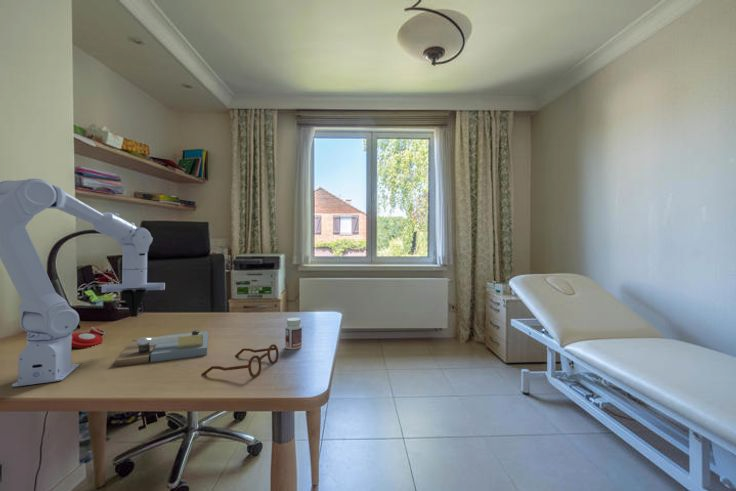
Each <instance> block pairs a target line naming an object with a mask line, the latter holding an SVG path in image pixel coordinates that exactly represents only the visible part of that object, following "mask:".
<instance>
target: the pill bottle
mask: <svg viewBox="0 0 736 491" xmlns="http://www.w3.org/2000/svg"><path fill="white" fill-rule="evenodd" d="M301 321H302V320H301V318H299V317H289V318H287V319H286V326H285V330H284V331H285V334H284V335H285V336H284V337H285V341H284V343H285V344H284V345H285V349H288V350H294V351H295V350H298V349H300V348H302V343H303V342H302V341H303V340H302V339H303V338H302V334H303V333H302V332H303V331H302V330H303V327H302V325H301Z"/></svg>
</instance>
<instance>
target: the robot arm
mask: <svg viewBox="0 0 736 491" xmlns="http://www.w3.org/2000/svg"><path fill="white" fill-rule="evenodd" d="M46 209H52V210H53V209H54V210H55V209H56V210H59V211H61V212H63V213H66V214H69V215H71V216H73V217H76V218H77V219H80V220H83V221H85V222H88V223H90V224H92V226H93V229H94V231H95V232H98V233H100V234H102V235H104V236H107V237H109V238H112V239H113V240H115V241H117V243H118V244H119V246H120V247H121V246H122V263H121V264H122V270H121V274H122V276H121V283H115V284H102V285H101V293H116V292H120V293H121V292H122V293H121V294H120V295H121V297H122V299H123V300H124V301H125V304H126V306H127V308H128V311H129V315H130V318H137V317H138V316H139V312H140V308H141V304H142V302H143V300H144V299H145V297H146V295H147V292H148V291H165V289H166V283H165V282H148V253H149V249H150V245H151V244H152V243H153V239H154V237H152V234H151V232H150V231H149V230H148V229H147V228H145V227H143V226H142V227H139V226H136V225H135V223H134V222H132V221H127V220H126V219H123V218H121V217H120V214H119V213H117V212H110V211H106V212H100V211H99V210H97V209H95V208H93V207H91V206H90V205H88V204H86V203H84V202H83V201H81V200H79V199H78V198H76V197H74V196H72V195H70V194H69V193H67V192H65V190H63V188H61V187H59V186H57V185H54V184H53V185H52V184H51V183H49V182H47V181H46V180H44V179H41V178H36V177H35V178H27V179H22V180H21V179H20V180H3V181H0V261H1V263H2V264H3V267H4V268H5V270H6V272H7V275H8V276H9V278H10V280H11V282H12V284H13V286H14V288H15V290H16V292H17V294H18V295H19V298H20V300H21V302H20V304H19V305H18V308H17V309H18V311H19V313H20V318H19V325H20V328H21V329H22V330H23V331H25V332H26V345H25V347H24V348H23V350H21V352H20V354H19V355H18V358H17V360H18V364H17V365H18V369H17V372H18V373H17V374H18V376H17V377H18V378H17V381H16V382H13V383H11V388H16V387H22V386H30V385H31V386H32V385H36V384H37V385H38V384H44V383H51V382H52V383H53V382H60V381H63V380H65V379H66V377H68V376H69V375H70V374H71V373H72V372H73V371H74V370H76V369H77V368H78V367H79V366H80V365H79V363H75V364H72V346H71V344H72V334H73V331H75V330H76V329H77V327H78V325H79V322H80V315H79V313H78V312H77V311H76V309H73V308H72V307H70V305H69V303H68V301H67V300H66V299H64V298H63V297H62V296H61V295H59V293H57V292H56V289H55V288H54V285H53V283H52V281H51V280H50V277H49V275H48V273H47V271H46V268H45V266H44V265H43V262H42V260H41V258H40V256H39V253H38V251H37V249H36V247H35V245H34V243H33V241H32V239H31V238H32V237H31V236H30V234H29V232H28V230H27V227H26V226H27V225H28V224H29V223H30V221H31V220H32V219H33V218H34V217H35V216H36V215H38V214H39V213H42V212H44V211H45V210H46Z"/></svg>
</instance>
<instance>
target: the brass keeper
mask: <svg viewBox="0 0 736 491" xmlns="http://www.w3.org/2000/svg"><path fill="white" fill-rule="evenodd" d="M196 346H203V334H198V335H188V336H179V337H178V348H187V347H196Z"/></svg>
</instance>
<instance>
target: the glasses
mask: <svg viewBox="0 0 736 491" xmlns="http://www.w3.org/2000/svg"><path fill="white" fill-rule="evenodd" d="M244 351H245V352H251V353H255V354H256V353H262V352H266V353H263V354H262V355H260V356H259V355H253V356H251V357H250V359H249V360H248V364H242V365H235V366H227V367H226V366H225V367H224V366H220V365H212V366H210V367H209V368H208V369H206V370H205V371H204V372H202V373H201V376H205V375H207V374H208V373H209V372H211V371H212V370H220V371H224V372H225V371H233V370H242V369H248V374H249V376H250V377H251V378H257V377H259V375H260V374H261V373H262V360H263V359H265V357H267V359H268V362H269V363H270V364H271V365H272V364H273V365H274V364H276V363H277V362H278V359H279V349H278V346H277V345H276V344H274V343H273V344H270V345H269V346H268V348H261V349H253V348H242V349H240V351H238V352H237V353H236V354H235V355H234V357H235V358H236V357H239V356H240V355H241V354H242V353H243V352H244ZM271 351H275V358H274V360H273V359H272V358H271ZM254 359H256V360H257V361H258V362H257V363H258V370H257V372H256V373H255V374H254V373H253V370H252V362H253V360H254Z"/></svg>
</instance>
